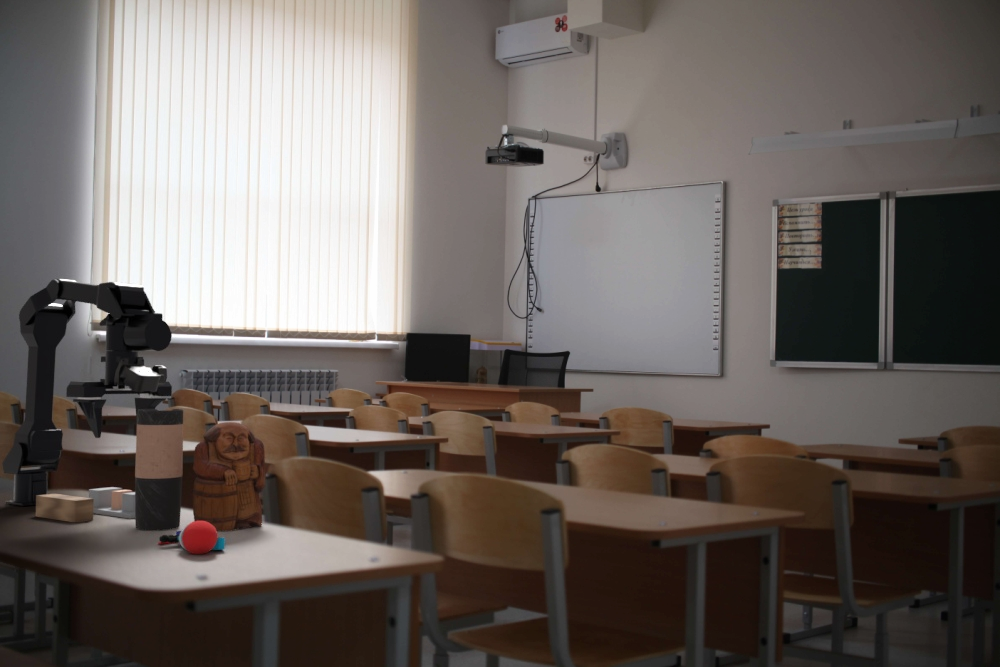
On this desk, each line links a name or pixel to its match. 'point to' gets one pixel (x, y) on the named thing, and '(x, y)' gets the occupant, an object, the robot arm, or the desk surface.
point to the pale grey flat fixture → (113, 502)
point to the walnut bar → (64, 507)
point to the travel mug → (158, 469)
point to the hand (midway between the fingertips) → (120, 436)
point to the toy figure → (196, 538)
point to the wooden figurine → (229, 477)
